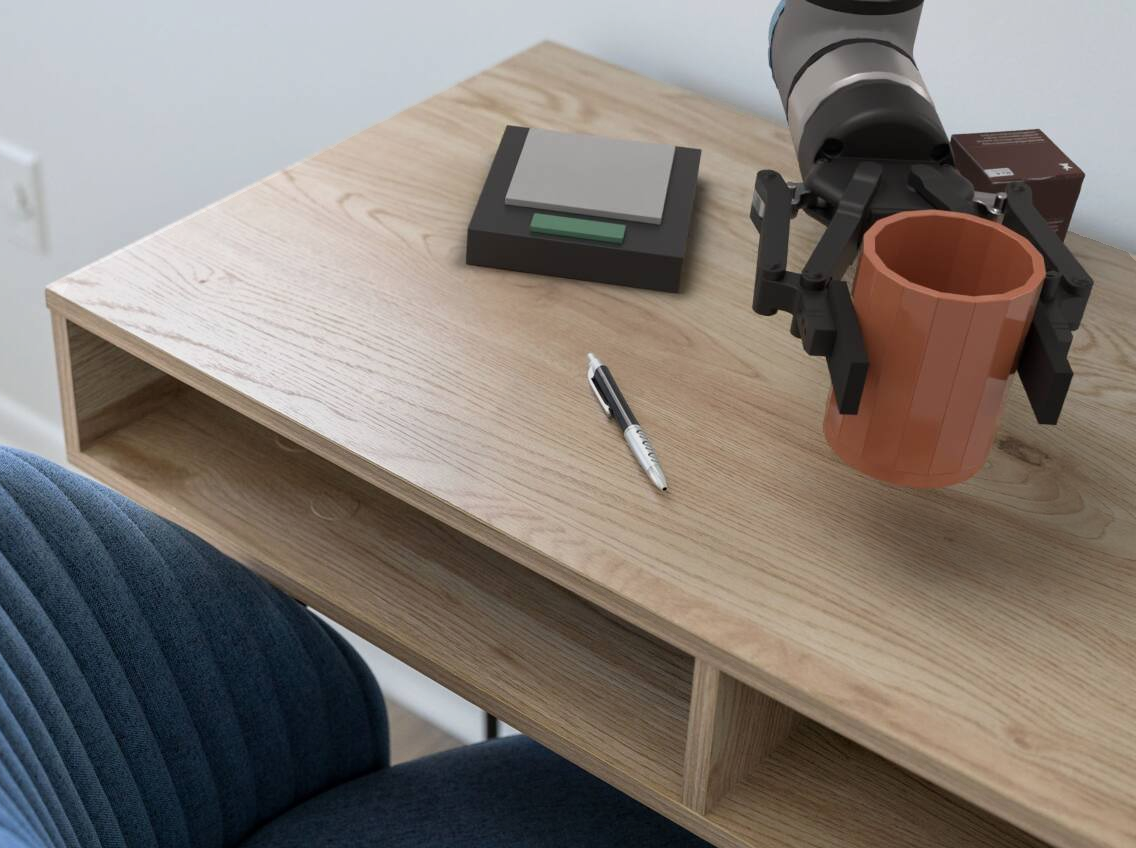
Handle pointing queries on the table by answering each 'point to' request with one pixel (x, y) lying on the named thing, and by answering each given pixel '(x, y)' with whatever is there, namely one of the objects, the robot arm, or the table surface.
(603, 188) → the scale
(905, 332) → the cup
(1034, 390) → the robot arm
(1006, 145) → the box
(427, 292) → the table surface
